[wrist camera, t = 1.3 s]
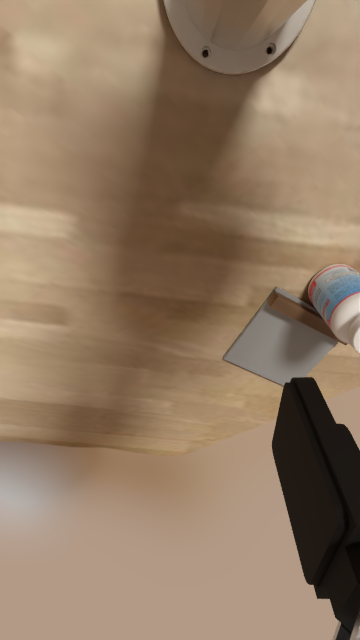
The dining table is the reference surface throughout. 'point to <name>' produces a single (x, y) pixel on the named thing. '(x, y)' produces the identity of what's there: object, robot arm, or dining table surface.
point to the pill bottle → (338, 301)
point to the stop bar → (300, 314)
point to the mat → (279, 344)
